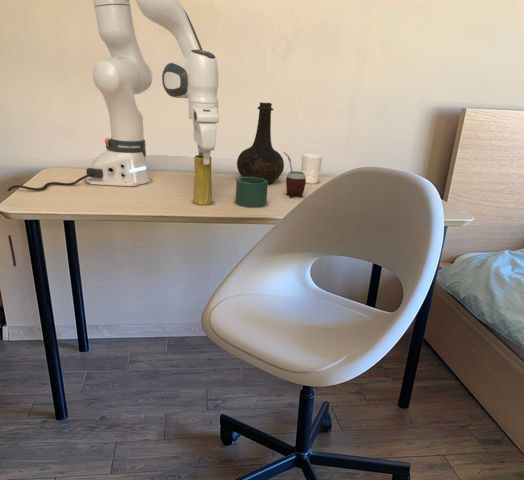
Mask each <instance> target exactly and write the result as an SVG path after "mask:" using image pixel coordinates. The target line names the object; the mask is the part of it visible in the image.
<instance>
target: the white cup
mask: <svg viewBox="0 0 524 480" xmlns="http://www.w3.org/2000/svg"><path fill="white" fill-rule="evenodd" d="M322 162H323V155H321V154H316V153H303V154H301V171H300V172H302V173H304V174H305V177H306V184H311V185H312V184H317V183H319V177H320V172H321V168H322Z"/></svg>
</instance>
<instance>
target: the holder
mask: <svg viewBox="0 0 524 480" xmlns="http://www.w3.org/2000/svg"><path fill="white" fill-rule="evenodd" d="M235 182H236V183H235V204H236V205H238V206H240V207H245V208H262V207H265V206H267V199H268V188H269V187H268V185H269V184H268V181H267V180H266V179H263V178H258V177H242V176H240V177H238V178H236V180H235Z"/></svg>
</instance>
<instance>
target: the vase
mask: <svg viewBox="0 0 524 480" xmlns="http://www.w3.org/2000/svg"><path fill="white" fill-rule="evenodd" d="M193 185H194V186H193V188H194V189H193V201H192V202H193V203H194V204H196V205H203V206H206V205H211V204H212V203H213V199H212V198H213V193H212V192H213V188H212V187H213V186H212V185H213V182H212V156H211V155H210V158H209V164H204V163H203V155H198V154H196V155H194V178H193Z"/></svg>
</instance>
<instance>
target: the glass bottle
mask: <svg viewBox="0 0 524 480" xmlns="http://www.w3.org/2000/svg"><path fill="white" fill-rule="evenodd" d="M272 105H273V103H271V102H259V106H258V107H257V110H259V111H258V120H257V125H256V126H257V127H256V132H255V137H254V139H253V140H254V141H253V142H252V145H251V146H250V147H248V148H245V149H244V150H242V151H241V152H240V154H239V155H238V157H237V160H236V168H237V171H238V173H239V175H240V177H258V178H263V179H266V180H267V181H268V185H269V184H273V183H274V182H275V181H277V180H278V179H279V178H280V176H281V175H282V174H283V172H284V169H285V161H284V158H283V156H282V155H281V154H280V153H279V151H277V150H275V148H274V147H273V145H272V133H271V132H272V129H271V128H272V126H271V125H272V111H274V108H273V106H272Z"/></svg>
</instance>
